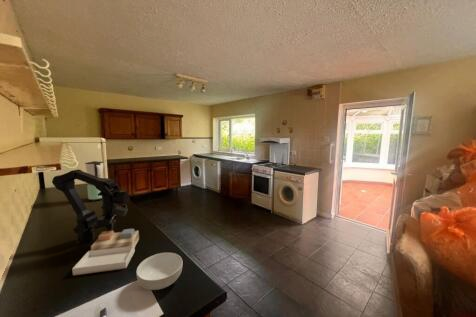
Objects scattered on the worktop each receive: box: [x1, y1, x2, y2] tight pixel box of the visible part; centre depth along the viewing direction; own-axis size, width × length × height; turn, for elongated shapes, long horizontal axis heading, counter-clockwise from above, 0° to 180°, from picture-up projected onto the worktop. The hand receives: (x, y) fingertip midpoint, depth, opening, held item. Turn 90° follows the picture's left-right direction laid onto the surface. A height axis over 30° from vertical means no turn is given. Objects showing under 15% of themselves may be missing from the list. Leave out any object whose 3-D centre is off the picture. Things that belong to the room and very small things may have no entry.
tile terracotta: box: [98, 230, 115, 241], centre depth 101 cm, size 5×5×2 cm
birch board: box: [90, 230, 140, 250], centre depth 102 cm, size 18×12×5 cm, turn 103°
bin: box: [71, 246, 136, 276], centre depth 89 cm, size 20×13×3 cm, turn 103°
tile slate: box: [121, 228, 135, 239], centre depth 103 cm, size 5×5×2 cm
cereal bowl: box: [135, 252, 184, 291], centre depth 77 cm, size 17×17×7 cm
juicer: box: [84, 160, 104, 203], centre depth 177 cm, size 19×13×35 cm
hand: (110, 230), depth 107 cm, fingers closed
